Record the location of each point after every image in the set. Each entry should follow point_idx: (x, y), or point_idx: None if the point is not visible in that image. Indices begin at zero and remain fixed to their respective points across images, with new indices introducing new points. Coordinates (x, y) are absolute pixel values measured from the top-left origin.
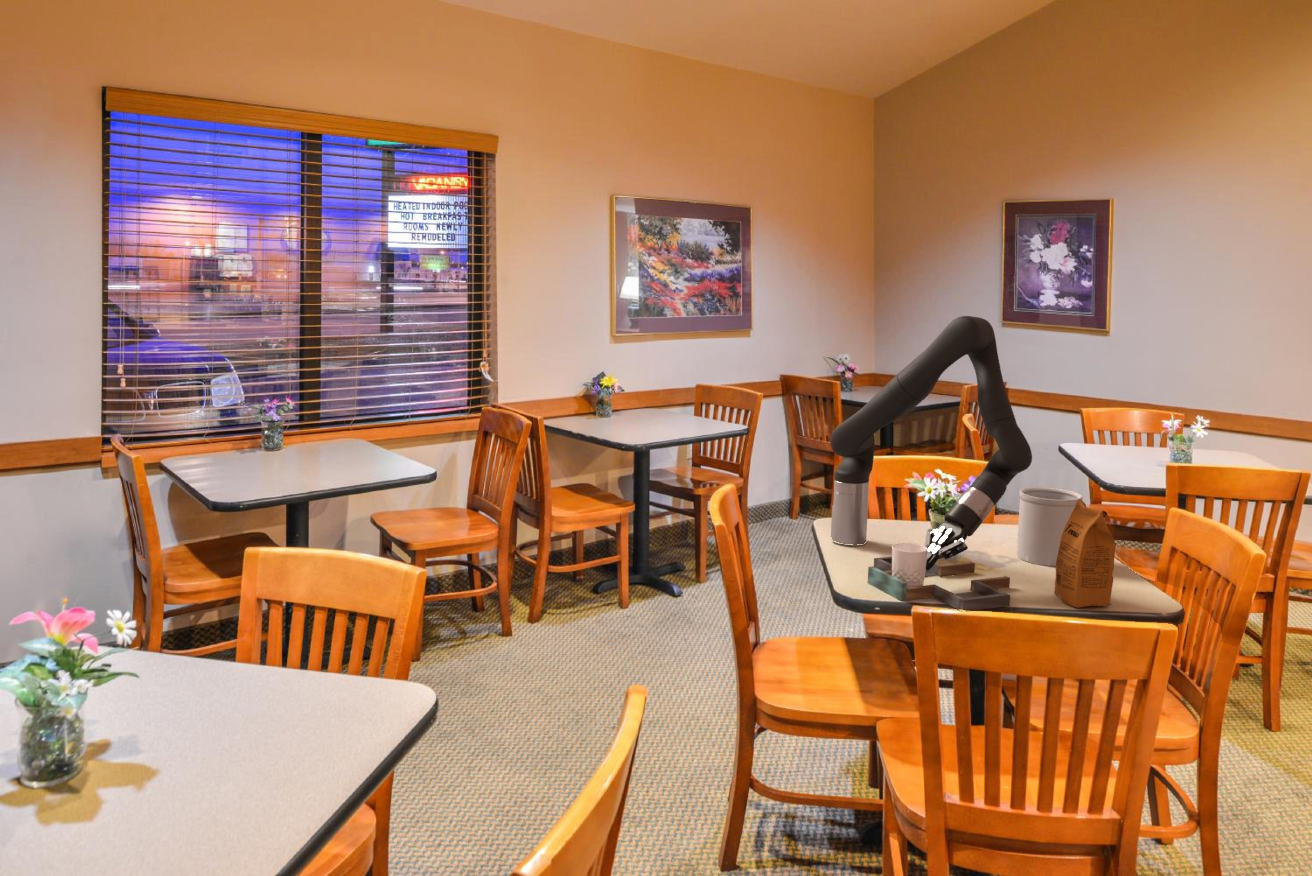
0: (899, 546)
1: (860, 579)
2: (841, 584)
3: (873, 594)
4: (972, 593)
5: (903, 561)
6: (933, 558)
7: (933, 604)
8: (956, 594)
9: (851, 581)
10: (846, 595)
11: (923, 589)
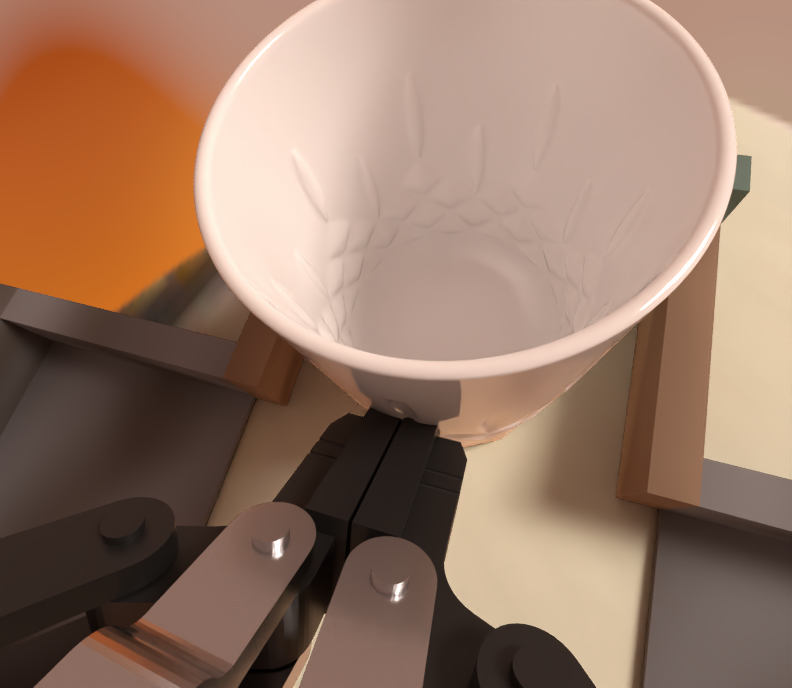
0: (690, 178)
1: (786, 256)
2: (732, 110)
3: None
4: None
5: (385, 92)
6: (290, 488)
7: (205, 280)
8: None
9: (766, 186)
10: None
11: None
